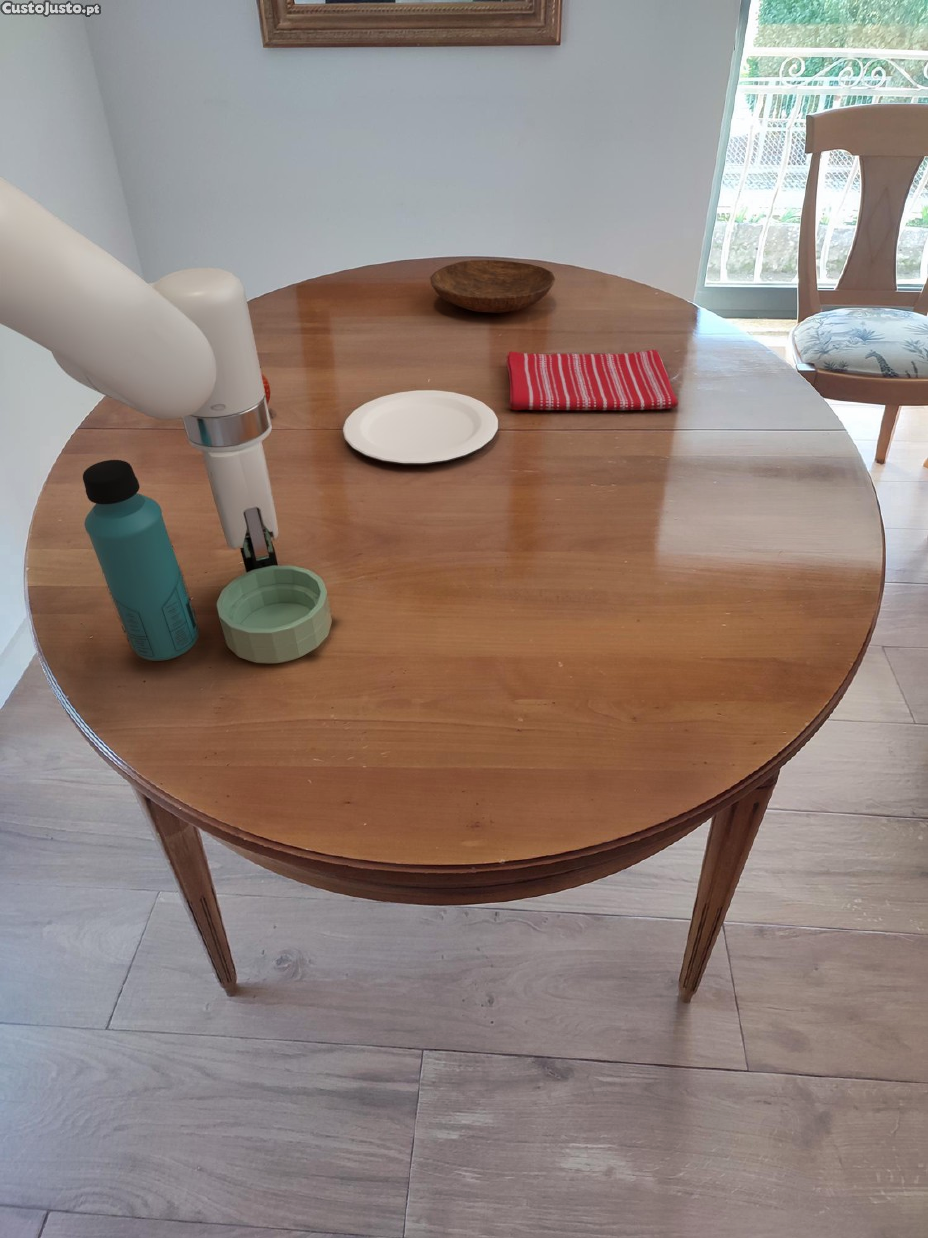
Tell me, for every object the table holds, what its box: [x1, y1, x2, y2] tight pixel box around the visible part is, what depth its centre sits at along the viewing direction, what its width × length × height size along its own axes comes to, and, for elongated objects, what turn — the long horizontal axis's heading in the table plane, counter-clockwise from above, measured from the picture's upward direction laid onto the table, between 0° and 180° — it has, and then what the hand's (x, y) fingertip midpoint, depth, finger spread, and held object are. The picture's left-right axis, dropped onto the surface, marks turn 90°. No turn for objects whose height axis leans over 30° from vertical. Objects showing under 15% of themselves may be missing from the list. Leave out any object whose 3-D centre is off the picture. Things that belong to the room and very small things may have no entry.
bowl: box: [429, 259, 556, 314], centre depth 148 cm, size 20×22×5 cm
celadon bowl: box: [216, 564, 333, 665], centre depth 81 cm, size 10×10×4 cm
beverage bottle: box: [82, 459, 200, 662], centre depth 74 cm, size 6×7×20 cm
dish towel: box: [506, 349, 679, 411], centre depth 122 cm, size 17×24×3 cm
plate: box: [342, 389, 499, 466], centre depth 113 cm, size 21×21×2 cm
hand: (264, 579), depth 87 cm, fingers closed
